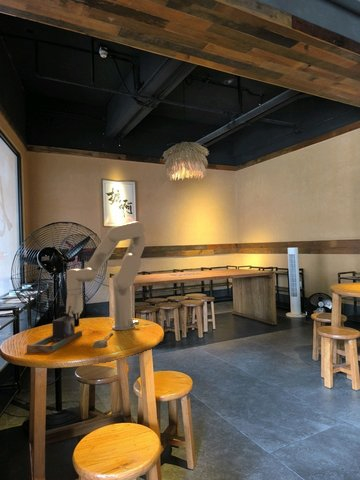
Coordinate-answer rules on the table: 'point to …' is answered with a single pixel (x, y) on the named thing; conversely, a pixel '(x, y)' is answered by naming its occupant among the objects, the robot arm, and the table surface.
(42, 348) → the chute
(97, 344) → the soupspoon
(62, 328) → the small box
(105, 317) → the table surface
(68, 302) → the robot arm
